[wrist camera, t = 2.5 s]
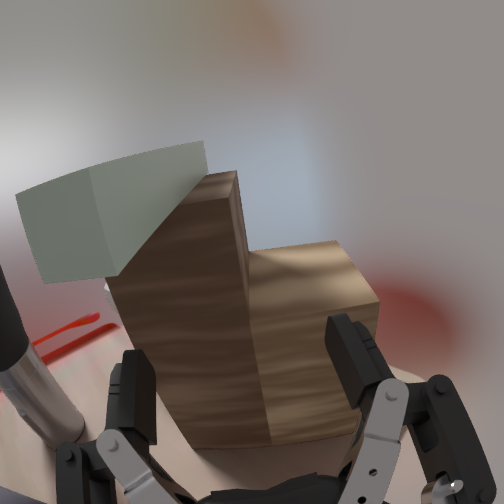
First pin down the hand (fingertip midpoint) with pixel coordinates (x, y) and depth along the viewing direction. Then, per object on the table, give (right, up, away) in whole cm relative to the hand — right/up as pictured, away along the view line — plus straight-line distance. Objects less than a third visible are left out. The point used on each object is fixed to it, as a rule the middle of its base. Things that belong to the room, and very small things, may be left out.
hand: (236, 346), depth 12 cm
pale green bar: (-6, +8, +10) cm, 14 cm away
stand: (+3, -19, +26) cm, 32 cm away
